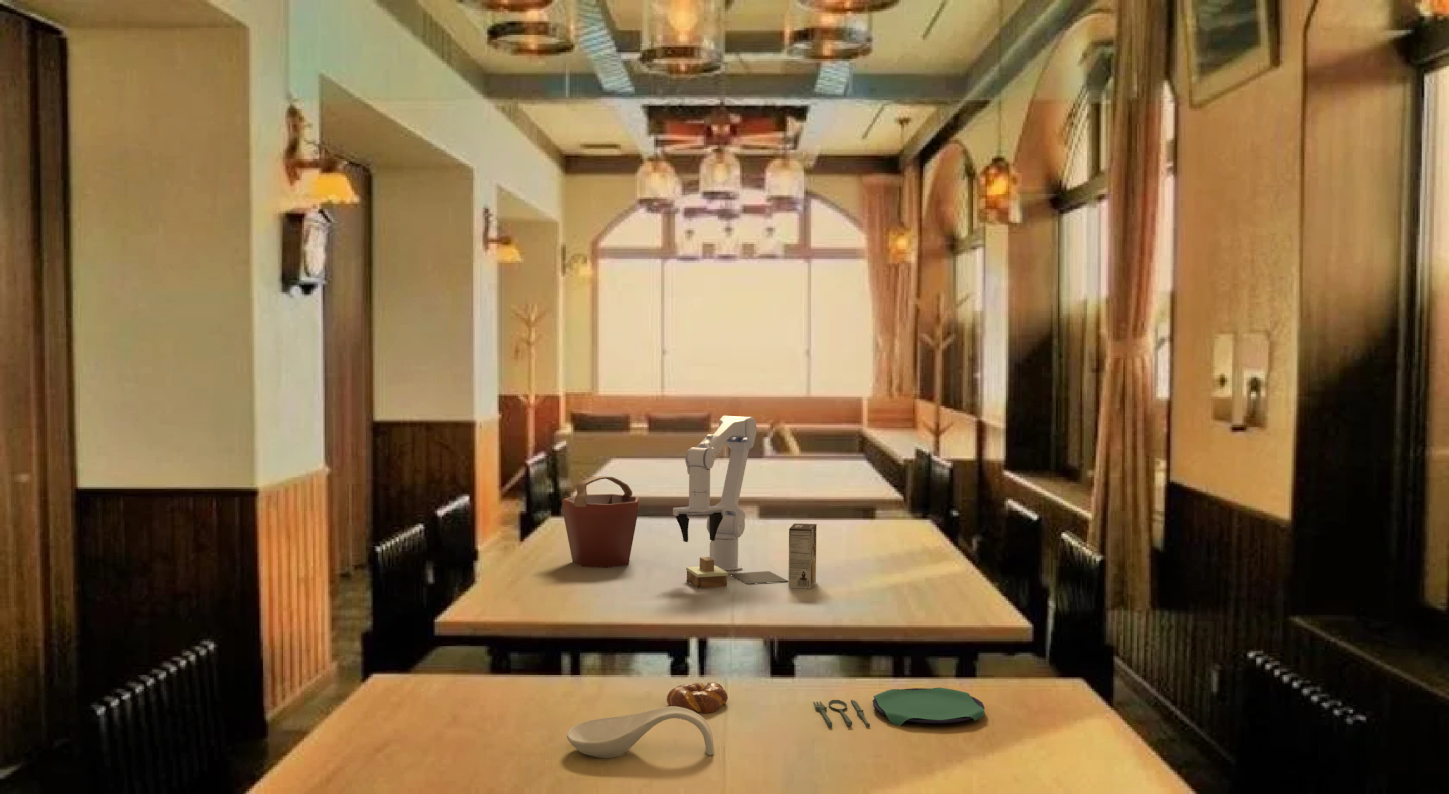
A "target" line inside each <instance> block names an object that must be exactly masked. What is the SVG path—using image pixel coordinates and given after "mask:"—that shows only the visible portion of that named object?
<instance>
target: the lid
mask: <svg viewBox="0 0 1449 794" xmlns="http://www.w3.org/2000/svg"><path fill="white" fill-rule="evenodd" d="M685 571H686V572H687V571H688V572H690V573H692V574H693V575H695V576H696V577H712V576H727V577H728V576H729V572H728V571H727V570H723V569H721V568H719V567H717V566H716V565H714V560H713V559H711V558H710V556H699V565H698V566H686V567H685Z"/></svg>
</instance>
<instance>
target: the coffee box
mask: <svg viewBox="0 0 1449 794" xmlns="http://www.w3.org/2000/svg"><path fill="white" fill-rule="evenodd" d="M816 583H817V523H793V524H792V525H791V526H790V527H789V529H788V588H789V589H799V588H808V589H807V590H812V588H813V587H814V586H815V584H816Z"/></svg>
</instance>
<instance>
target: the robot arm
mask: <svg viewBox="0 0 1449 794" xmlns="http://www.w3.org/2000/svg"><path fill="white" fill-rule="evenodd" d="M718 420H719V421H718V427H717V429H716V430H715V431H714V433H712V434H709V433H708V434H707V435H706V437H704V439H702V440H701V441H700V443H699V444H698V445H696V446H695V447H694V446H693V447H690V448H689V449H687V452H686V453H685V458H684V460H685V464H686V472H687V475H688V506H680V507H673V508H672V515H673V516H675V519H676V520H677V523H678V526H679V529H680V530H681V531H680V532H681V536H682V541H683V542H685V543H688V542H689V523H690V518H689V517H688V516H692V515H693V516H696V515H708V517H707V518H706V519H707V520H706V529H707V532H708V534H709V541H710V542H709V558H711V559H713V560H714V565H716V566H717V567H719V568H721V569H723V570H724V571H734V570H743V569H744V568H743V567H742V566H740V565H739V538H741V536H742V535H743V534H744V532H745V526H746V522H745V521H746V520H745V519H746V512H745V511H744V510H743V509H742V508H741V506H739V501H740V495H741V492H742V491H741V490H742V486H743V481H744V476H745V472H746V466H747V461H748V456H749V451H750V450H751V449H752V448H754V444H755V441H756V437H757V436H756V435H757V432H758V431H757V430H758V426H757V421H756V419H755V418H754V417H753V416H738V415H737V416H736V415H735V416H734V415H727V414H726V415H723V416H721V417H720V419H718ZM724 446H725V447H727V448H729V449H730V455H729V459H728V464H727V470H726V475H725V480H724V482H723V483H724V484H723V488H722V489H723V490H722V494H721V498H720V501H719V502H718V503H716V504H715V505H710V504H711V469H713V466H714V464H715V461H716V458H717V456H718V455H719V454H720V453H721V451H722V450H723V448H724Z"/></svg>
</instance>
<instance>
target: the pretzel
mask: <svg viewBox="0 0 1449 794" xmlns="http://www.w3.org/2000/svg"><path fill="white" fill-rule="evenodd" d="M706 684H707V685H705V684H704V683H702V682H695V683H692V684H686V683H685V684H680V685H678V686H676V687H674V688H672V689H671V690H669V693H667V696H666V702H667V705H668V706H676V707H682V708H686V709H689V710H692V711H694V712H696V713H697V714H699V713H702V714H711V713H715V712H717V711H718V710H719V709H720V708H722V707H723V706H724V705H726V703H727V702H728V699H729V697H728V693H727V692H726V690H725V689H724V687H723V686H722V685H721V684H720V683H717V682H714V681H713V682H712V681H710V682H707V683H706Z"/></svg>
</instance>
